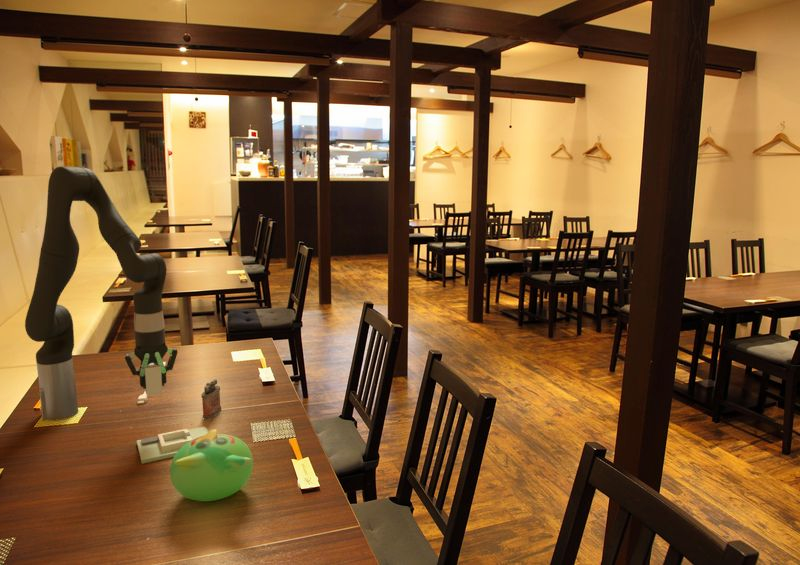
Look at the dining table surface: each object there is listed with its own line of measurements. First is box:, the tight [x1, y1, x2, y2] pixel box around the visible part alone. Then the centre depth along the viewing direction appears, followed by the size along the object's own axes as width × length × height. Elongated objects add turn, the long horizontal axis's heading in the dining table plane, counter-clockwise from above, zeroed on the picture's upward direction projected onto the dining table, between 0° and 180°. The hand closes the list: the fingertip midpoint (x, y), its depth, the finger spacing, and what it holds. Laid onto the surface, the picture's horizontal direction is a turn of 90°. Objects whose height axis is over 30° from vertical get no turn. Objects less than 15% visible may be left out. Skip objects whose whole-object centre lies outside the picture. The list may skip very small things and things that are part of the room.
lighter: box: [200, 378, 222, 420], centre depth 176 cm, size 8×3×10 cm, turn 168°
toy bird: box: [169, 428, 254, 502], centre depth 133 cm, size 18×17×15 cm
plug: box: [144, 363, 163, 397], centre depth 161 cm, size 4×4×8 cm
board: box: [136, 426, 209, 465], centre depth 157 cm, size 18×12×3 cm, turn 119°
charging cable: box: [137, 361, 167, 405], centre depth 198 cm, size 5×32×3 cm, turn 12°
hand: (153, 386), depth 162 cm, fingers closed on plug, 4 cm apart
